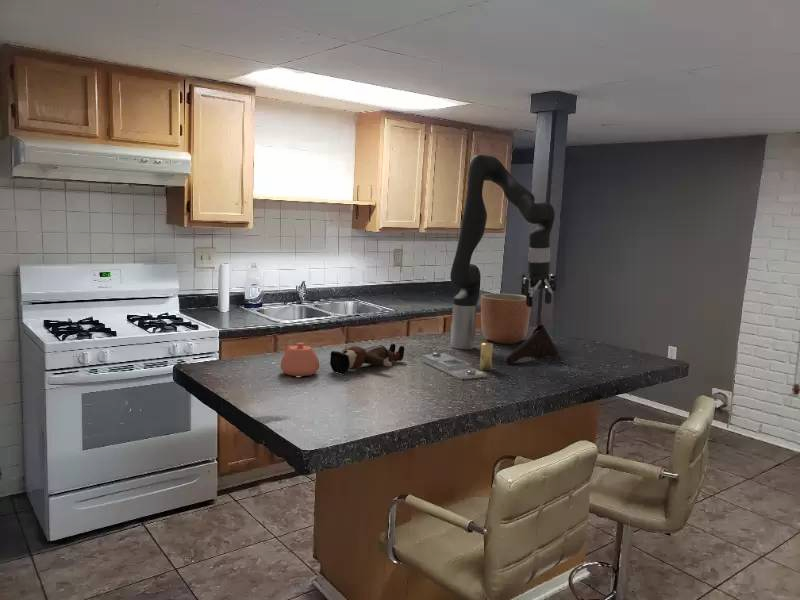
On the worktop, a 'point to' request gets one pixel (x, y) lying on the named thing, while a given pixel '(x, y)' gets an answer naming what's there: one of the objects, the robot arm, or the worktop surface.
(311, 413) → the worktop surface
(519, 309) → the planter
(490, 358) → the pin
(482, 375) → the grey metal plate
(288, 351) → the sugar bowl
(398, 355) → the toy
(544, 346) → the holster
